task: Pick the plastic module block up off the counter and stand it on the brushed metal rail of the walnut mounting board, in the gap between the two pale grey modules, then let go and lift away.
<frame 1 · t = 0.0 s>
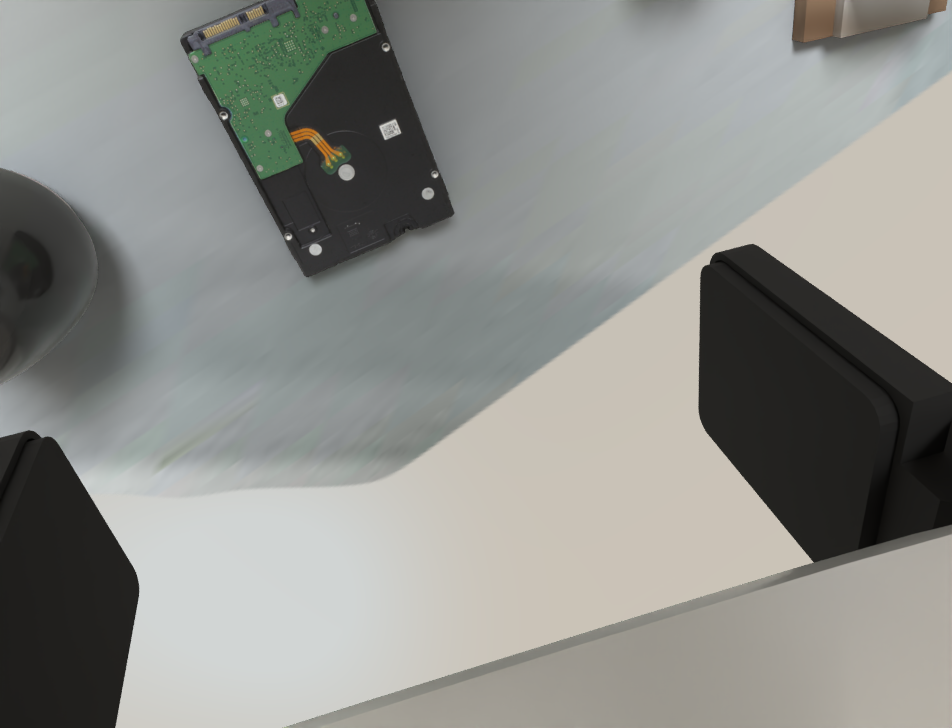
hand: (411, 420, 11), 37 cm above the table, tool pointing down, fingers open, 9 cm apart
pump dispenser: (12, 233, 43), on the table
disk drive: (326, 124, 45), on the table
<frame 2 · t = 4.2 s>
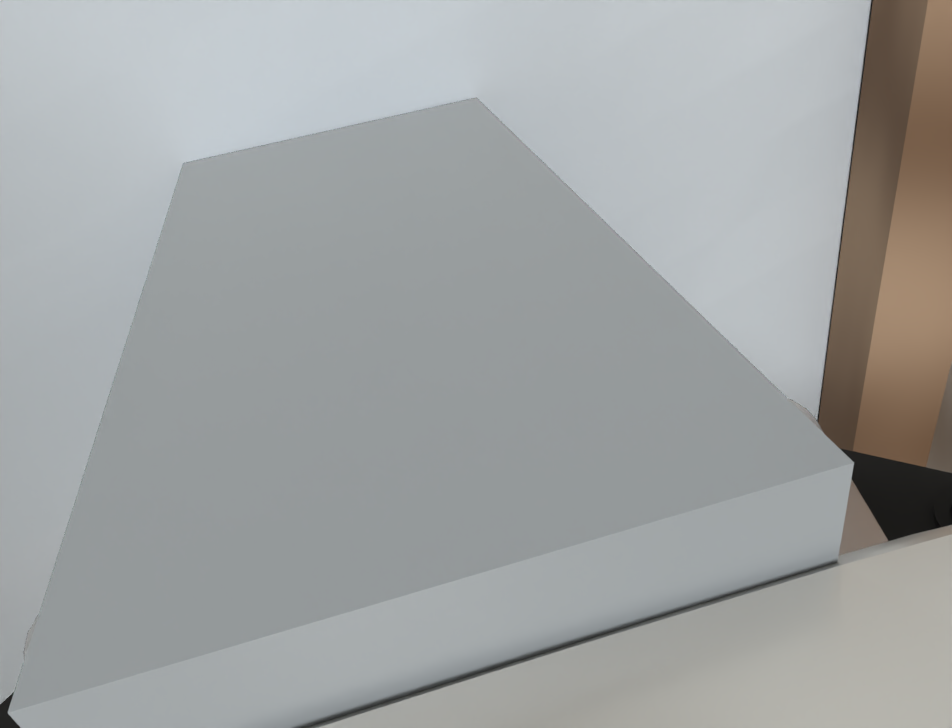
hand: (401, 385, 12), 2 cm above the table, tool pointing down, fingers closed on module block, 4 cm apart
module block: (384, 326, 13), on the table, touching gripper
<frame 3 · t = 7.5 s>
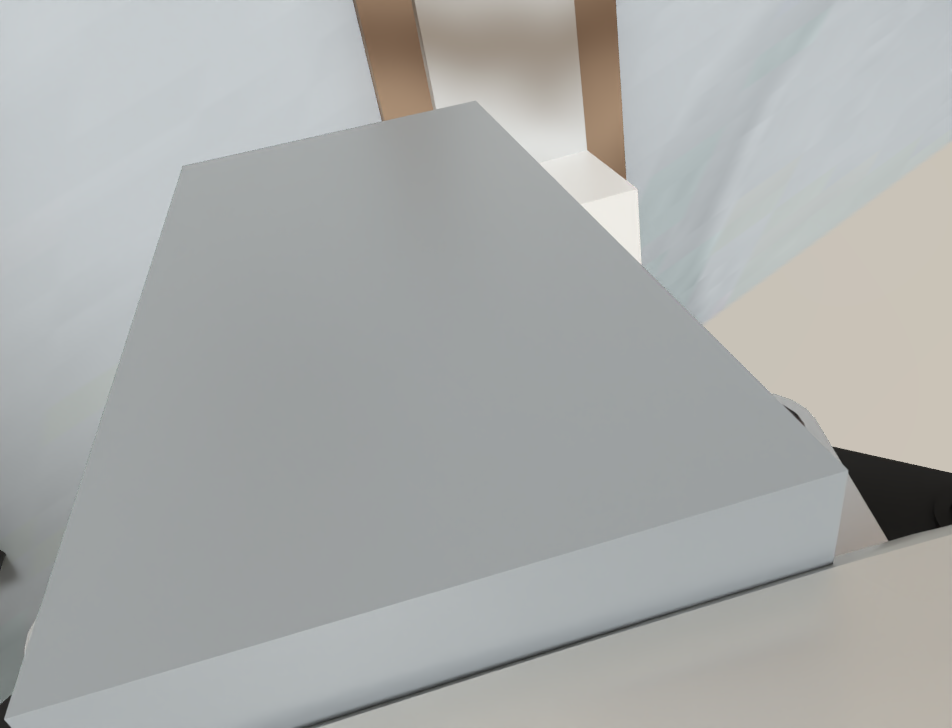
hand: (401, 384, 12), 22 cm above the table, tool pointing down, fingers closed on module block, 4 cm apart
rail board: (486, 20, 30), on the table
module block: (383, 328, 13), point 20 cm above the table, touching gripper
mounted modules: (524, 38, 26), on the rail board, point 4 cm above the table
when the fingers open (5 cm above the table, at t = 11.2 s): module block stays where it is, resting on rail board.
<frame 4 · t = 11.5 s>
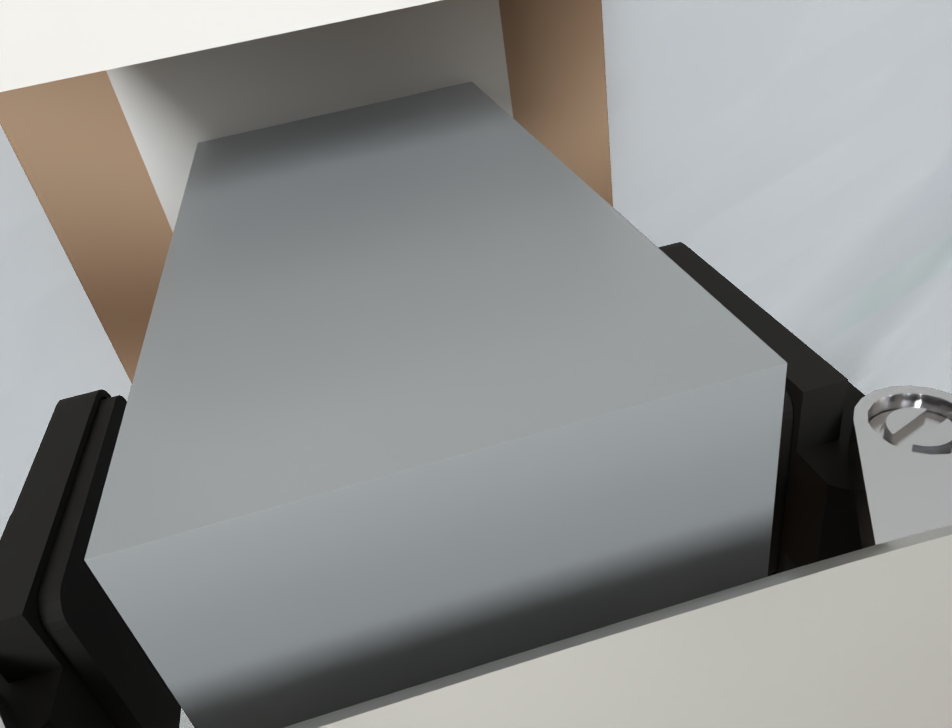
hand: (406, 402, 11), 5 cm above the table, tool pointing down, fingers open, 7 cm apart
rail board: (366, 260, 16), on the table
module block: (385, 299, 14), point 2 cm above the table, touching rail board
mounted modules: (407, 370, 12), on the rail board, point 4 cm above the table
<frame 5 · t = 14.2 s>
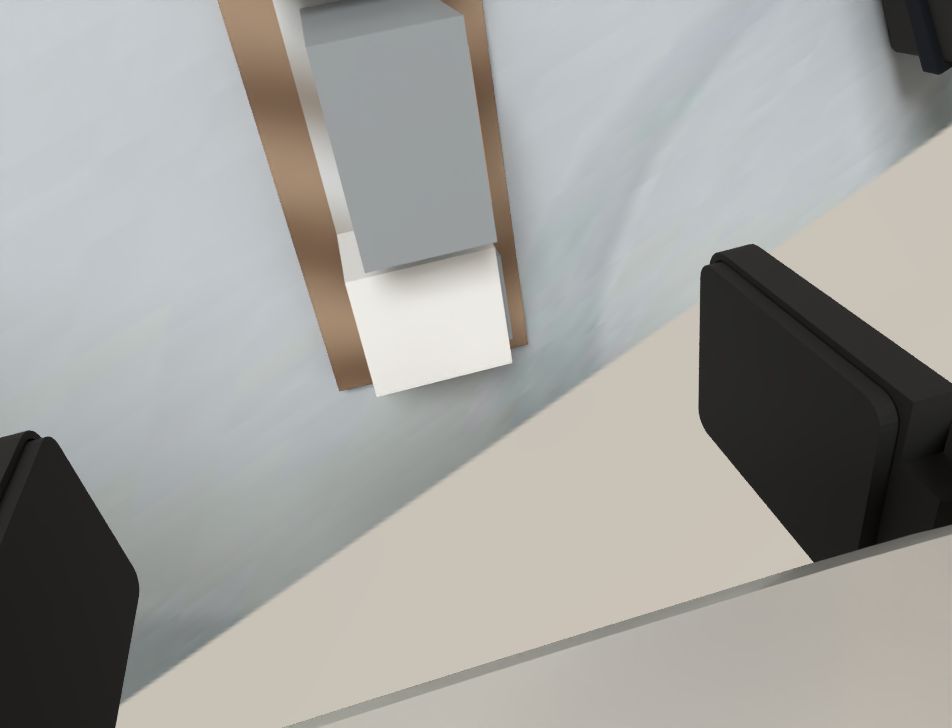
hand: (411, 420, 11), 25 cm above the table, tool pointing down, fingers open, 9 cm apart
rail board: (370, 83, 32), on the table
module block: (378, 91, 30), point 2 cm above the table, touching rail board
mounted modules: (386, 106, 28), on the rail board, point 4 cm above the table
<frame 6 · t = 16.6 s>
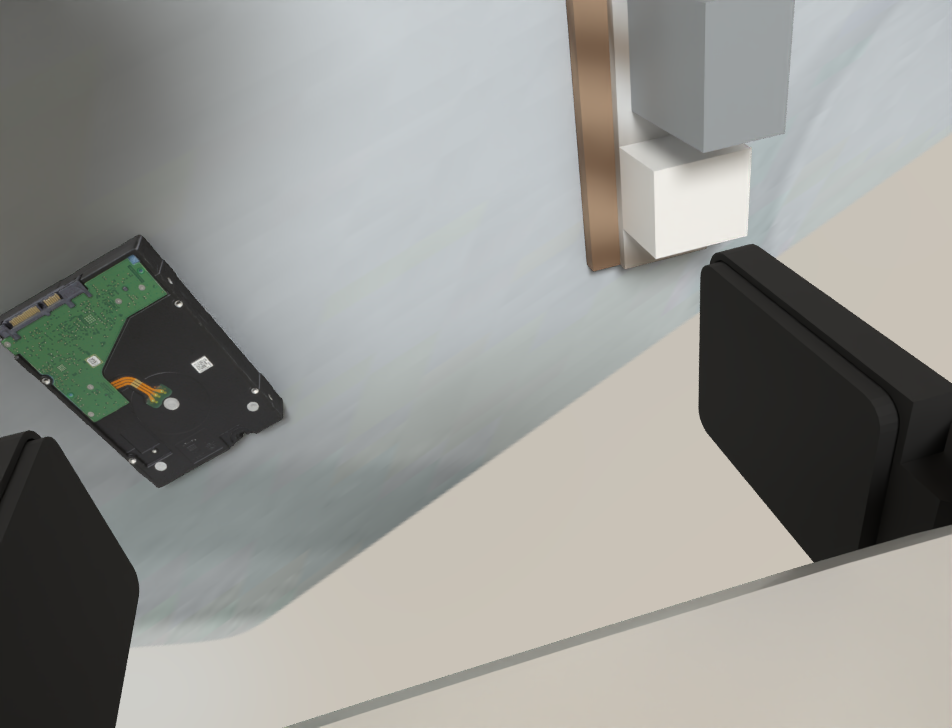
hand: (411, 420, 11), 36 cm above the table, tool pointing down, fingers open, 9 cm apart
rail board: (648, 37, 45), on the table
module block: (665, 42, 44), point 2 cm above the table, touching rail board
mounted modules: (685, 49, 42), on the rail board, point 4 cm above the table
disk drive: (153, 357, 49), on the table
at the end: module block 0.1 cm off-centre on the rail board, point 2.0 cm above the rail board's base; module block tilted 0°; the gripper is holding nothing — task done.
